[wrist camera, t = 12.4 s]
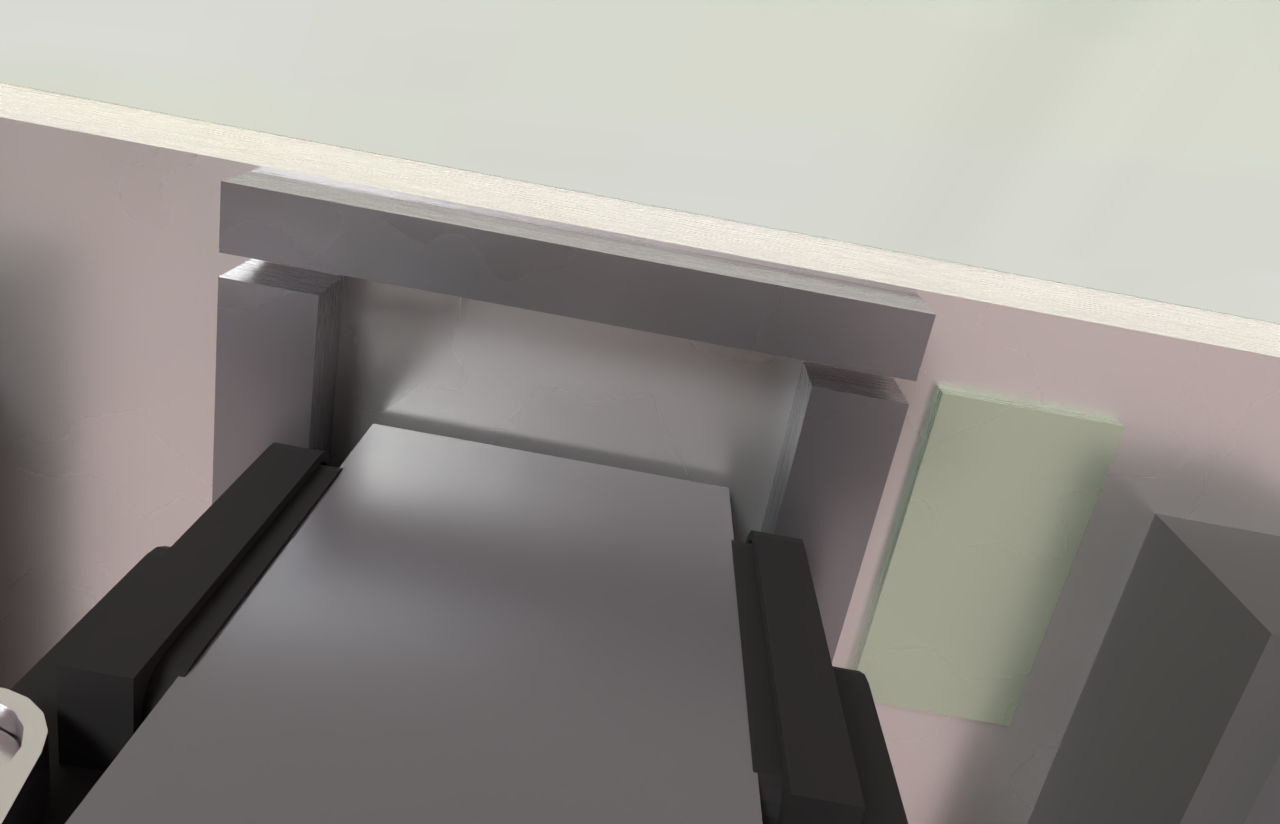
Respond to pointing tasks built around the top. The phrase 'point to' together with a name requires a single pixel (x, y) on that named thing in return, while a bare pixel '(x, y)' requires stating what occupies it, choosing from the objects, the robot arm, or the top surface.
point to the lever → (465, 657)
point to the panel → (614, 398)
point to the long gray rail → (1180, 690)
